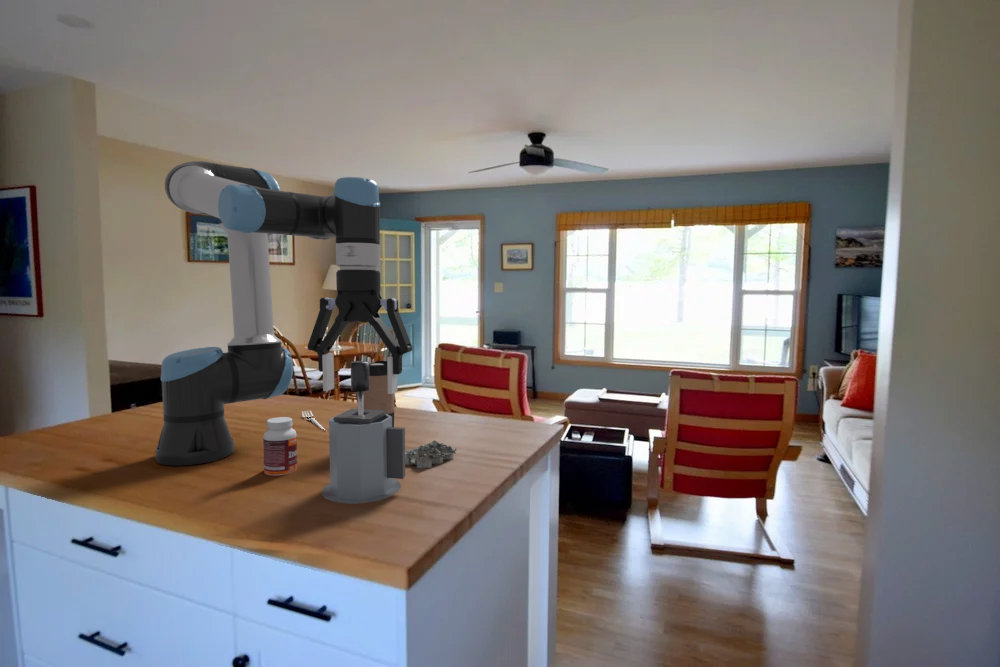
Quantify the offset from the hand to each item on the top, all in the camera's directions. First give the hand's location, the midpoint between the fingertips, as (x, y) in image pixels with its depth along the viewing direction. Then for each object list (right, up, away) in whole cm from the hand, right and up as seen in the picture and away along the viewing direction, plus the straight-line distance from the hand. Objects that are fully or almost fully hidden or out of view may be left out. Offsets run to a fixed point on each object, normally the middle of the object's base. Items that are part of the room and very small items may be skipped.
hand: (360, 391), depth 98 cm
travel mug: (-3, -17, +29) cm, 33 cm away
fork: (-25, -15, +51) cm, 59 cm away
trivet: (0, -19, +2) cm, 19 cm away
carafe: (+1, -18, +1) cm, 18 cm away
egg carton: (+10, -18, +18) cm, 27 cm away
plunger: (0, -15, +1) cm, 15 cm away
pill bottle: (-19, -18, +11) cm, 28 cm away
